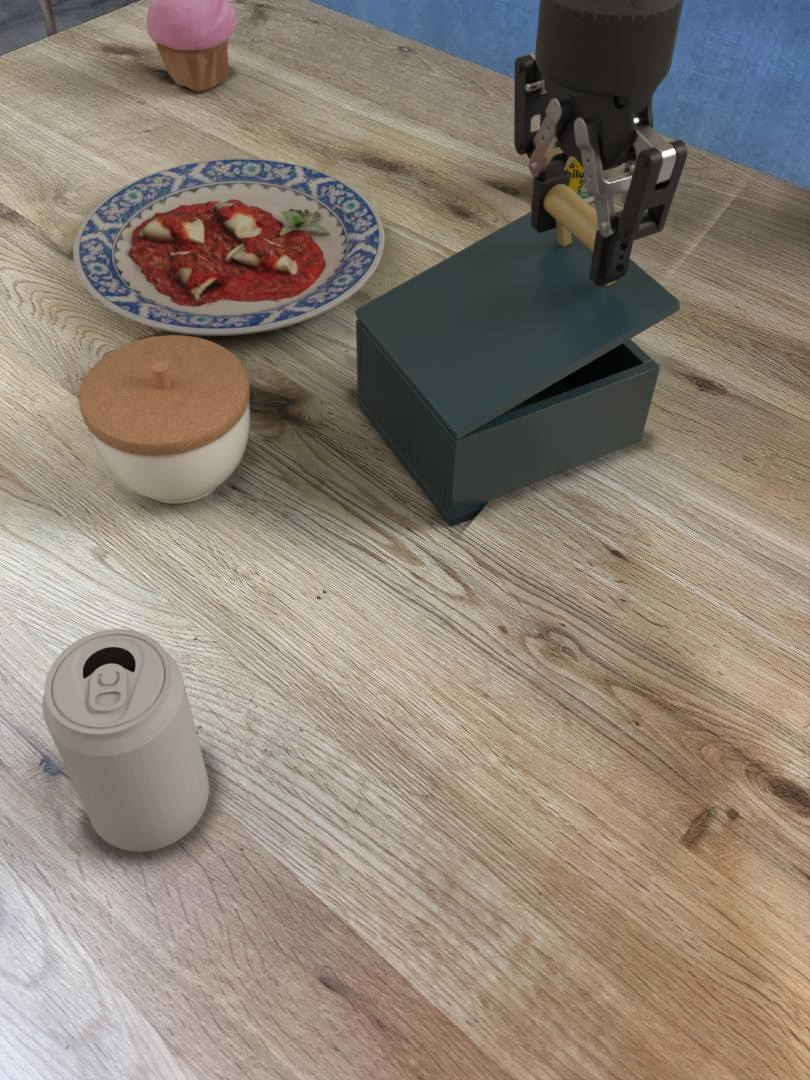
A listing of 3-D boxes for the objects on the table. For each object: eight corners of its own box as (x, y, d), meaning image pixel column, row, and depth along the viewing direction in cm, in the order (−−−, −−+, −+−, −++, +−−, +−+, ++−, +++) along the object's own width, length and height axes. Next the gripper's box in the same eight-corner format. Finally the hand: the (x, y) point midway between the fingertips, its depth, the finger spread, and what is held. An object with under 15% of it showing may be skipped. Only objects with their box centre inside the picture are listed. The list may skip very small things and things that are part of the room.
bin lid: (558, 205, 74) (551, 141, 70) (680, 310, 66) (680, 246, 62) (356, 318, 72) (336, 260, 68) (457, 440, 64) (441, 383, 60)
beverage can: (208, 742, 59) (177, 612, 50) (214, 849, 55) (181, 728, 46) (91, 758, 58) (39, 629, 49) (89, 868, 54) (30, 749, 45)
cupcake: (257, 78, 112) (249, -22, 104) (206, 112, 107) (193, 9, 99) (191, 57, 114) (178, -41, 107) (138, 89, 110) (121, -12, 102)
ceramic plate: (102, 384, 79) (94, 352, 77) (60, 205, 95) (53, 174, 93) (426, 320, 85) (427, 289, 82) (335, 161, 101) (334, 132, 98)
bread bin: (534, 345, 83) (546, 259, 77) (638, 452, 75) (660, 366, 69) (357, 405, 78) (355, 319, 72) (449, 527, 70) (455, 441, 64)
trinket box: (74, 510, 70) (40, 404, 63) (142, 407, 77) (118, 301, 70) (224, 544, 69) (206, 439, 62) (280, 436, 75) (270, 330, 68)
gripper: (761, 16, 52) (691, 295, 65) (593, -80, 60) (561, 185, 73) (638, 49, 50) (591, 332, 63) (481, -55, 58) (468, 213, 71)
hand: (575, 251), depth 68 cm, fingers closed on bin lid, 6 cm apart
